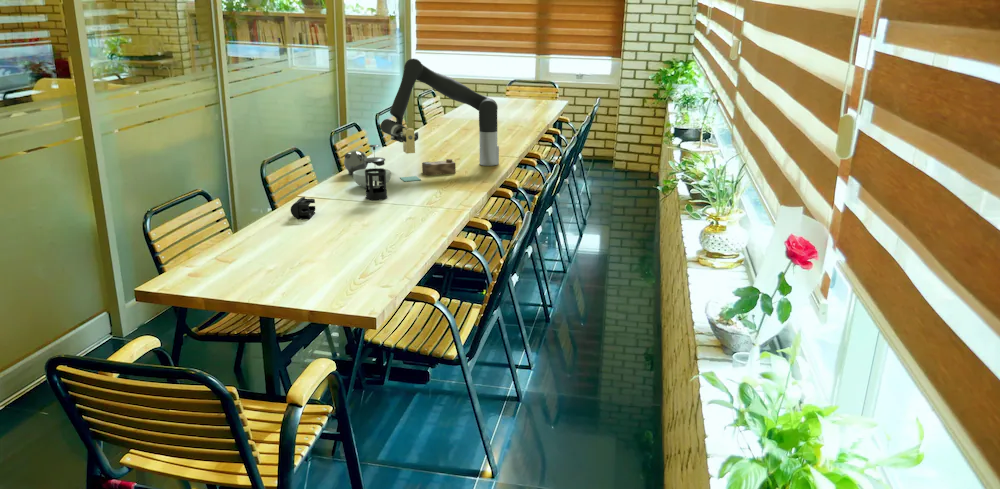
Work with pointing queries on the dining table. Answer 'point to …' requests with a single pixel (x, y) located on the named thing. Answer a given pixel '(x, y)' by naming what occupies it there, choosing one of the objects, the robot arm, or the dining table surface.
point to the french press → (372, 192)
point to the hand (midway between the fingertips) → (410, 139)
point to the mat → (410, 178)
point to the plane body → (438, 167)
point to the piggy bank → (355, 161)
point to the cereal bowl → (361, 180)
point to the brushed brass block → (409, 140)
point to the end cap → (303, 208)
